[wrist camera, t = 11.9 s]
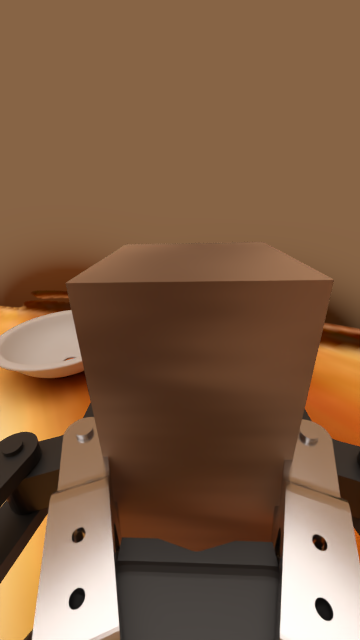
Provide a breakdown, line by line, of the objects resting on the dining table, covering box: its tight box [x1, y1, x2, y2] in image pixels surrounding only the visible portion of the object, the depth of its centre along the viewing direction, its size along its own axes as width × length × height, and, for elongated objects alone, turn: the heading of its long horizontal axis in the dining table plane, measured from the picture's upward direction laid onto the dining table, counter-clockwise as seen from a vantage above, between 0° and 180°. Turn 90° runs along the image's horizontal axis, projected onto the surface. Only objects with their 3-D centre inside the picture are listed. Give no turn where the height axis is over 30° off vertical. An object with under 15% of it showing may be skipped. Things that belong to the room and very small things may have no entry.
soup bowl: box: [0, 310, 84, 378], centre depth 51 cm, size 24×24×7 cm
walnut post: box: [66, 242, 334, 552], centre depth 10 cm, size 5×5×14 cm
